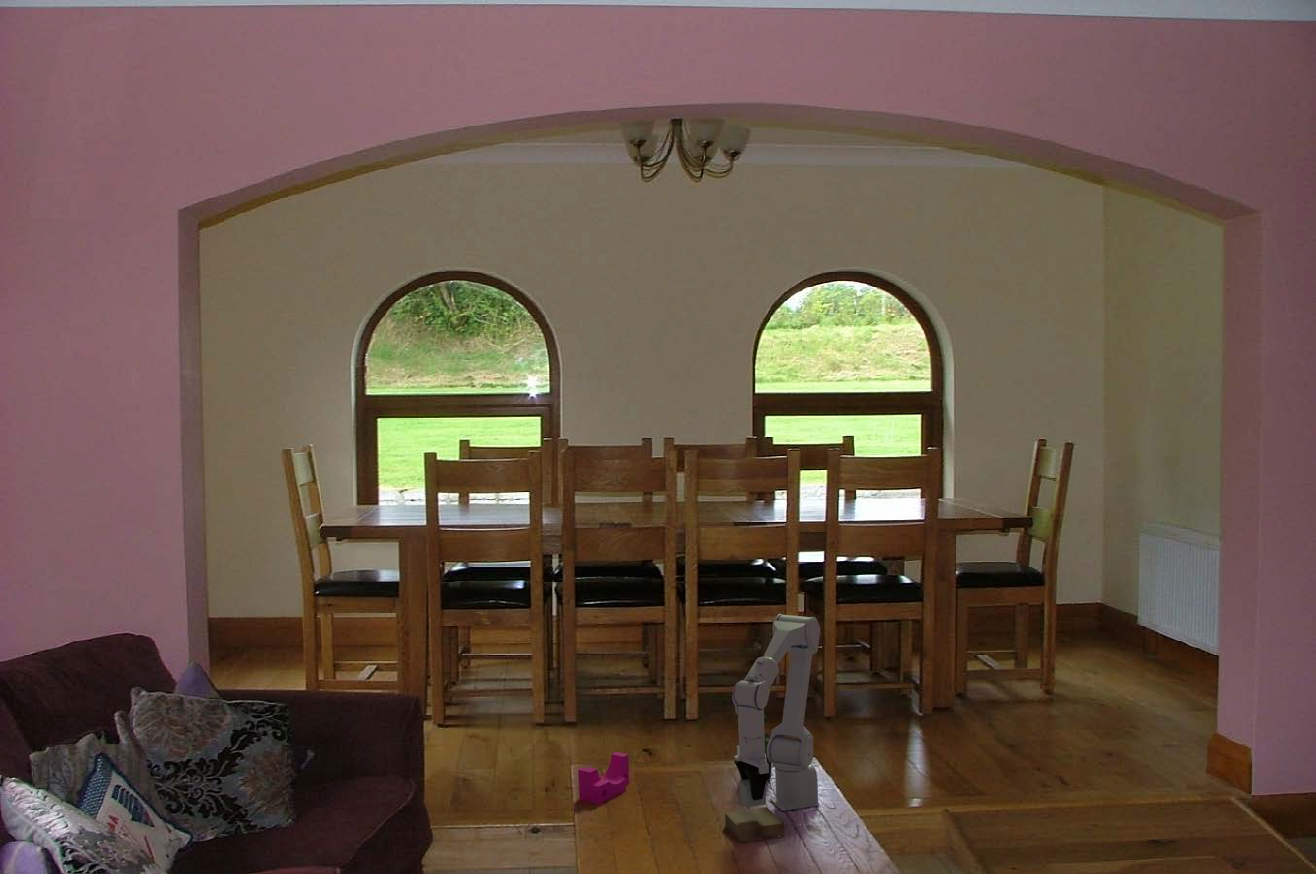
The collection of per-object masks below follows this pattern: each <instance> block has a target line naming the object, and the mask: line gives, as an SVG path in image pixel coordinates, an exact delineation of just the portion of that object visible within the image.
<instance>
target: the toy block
mask: <svg viewBox="0 0 1316 874" xmlns="http://www.w3.org/2000/svg"><path fill="white" fill-rule="evenodd" d="M629 761H630V758H629V754H628V753H623V752H619V751H616V752H614V753H611V758H610V762H609V765H608V768H607V770H606V771H605V773H604V774H603V775H602V776H601V777H600V774H599V771H598V768H594V767H589V766H584V767H581V768H579V769H577V773H578V799H579V800H582V801H585V802H589V803H593V804H597V805H602V804H603V803H604V802H607V801H609V800H611V799H612V798H615V797H616V796H618V795H620V794H623V793H624V792H626V791H627V785H628V784H630V764H629V763H630V762H629Z"/></svg>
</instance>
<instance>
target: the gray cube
mask: <svg viewBox="0 0 1316 874" xmlns="http://www.w3.org/2000/svg"><path fill="white" fill-rule="evenodd" d="M738 783H739V785H738V786H739V787H738V788H739V802H740V803H742V804H743V805H744V807H746V808H750V807H759V806H764V805H766V806H767V794H766V792H767V791H766V789H767V788H766V786H767V784H766V785H765V790H764V795H763V799H761V800H753V798H752V795H751V788H750V783H749V779H746V780H738Z"/></svg>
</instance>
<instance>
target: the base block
mask: <svg viewBox="0 0 1316 874" xmlns="http://www.w3.org/2000/svg"><path fill="white" fill-rule="evenodd" d="M724 815H725V816H724V818H725V819H724V820H725V821H724V822H725V827H726V828H727V830H728V831H729V832H730V833H731V834H732V835H733V836H734V837H735V838H736V840H738V841H739V843H740V844H743V843H749V842H758V841H761V840H762V841H763V840H769V838H770V839H775V838H774V837H776V838H779V837H778V836H783V837H784V836H785V823H784V822H783V820H781V819H780V818H779V817H778V816H777V815H776V814H775V813H774V812H773V811H772V810H770V809H769V807H767V806H764V807H758V808H757V807H756V808H752V809H744V810H739V811H731V812H725V813H724Z"/></svg>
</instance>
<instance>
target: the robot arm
mask: <svg viewBox="0 0 1316 874" xmlns="http://www.w3.org/2000/svg"><path fill="white" fill-rule="evenodd" d="M771 631H772V632H771V633H772V638H771V639H770V642H769V645H768V647H767V649H766V651H765V652H764V655H763V656H760V657H757V658H756V659H755V661H754V663H753V664H752V666H751V668H750V670H749V671H748V673H747V674H746V676H745V677H744V679H742V680H739V682H736V684H735V685H734V687H733V690H732V696H731V699H732V703H733V705H734V709H735V714H736V715H737V720H738V721H737V722H738V725H737V726H738V745H736V755H734V756H733V759H734V765H735V766H736V768H737V770H738V773H739V777H740V779H741V780H746V779H749V783H750V788H751V795H752V798H753V800H761V799H763V795H764V790H765V785H766V786H767V782H768V781H769V780H768V777H769V776H770V774H771V775H772V768H771V769H770V768H769V764H768V763H767V759H766V754H765V733H766V732H765V723H764V715H765V710H764V709H765V707H766V706H767V705H768V702H769V696H770V693H771V686H772V684H773V683H774V681H775V679H776V678H777V676H778V674H779V665H778V664H779V663H780V662H781V660H782V659H783V657H784V656H785V655H786V654H787V652H788V654H789V656H790V658H789V659H790V660H789V665H788V666H789V667H788V672H787V673H788V674H787V682H786V690H785V697H784V703H783V704H784V706H783V713H782V721H781V723H780V724H779V725H777V726H776V727H774V728H772V730H771V733H770V740H769V742H768V745H767V757H768V759H769V761H770V762H772V767H773V768H774V772H775V773H774V775H775V796H774V797H772V796H771V797H769V800H770V801H771V802H772V803H773V804H774V805H775V806H776V807H777V808H779V810H780V811H782V812H787V811H793V809H794V810H800V809H805V808H812V807H818V806H820V802H819V787H818V786H819V784H818V782H819V780H818V774H817V770H816V768H815V766H814V765H813V764H812V763H813V759H814V754H815V752H814V736H813V735H812V733H811V732H810V731H809V730H808V729H807V728H806V726H804V721H805V713H806V706H807V698H808V691H809V690H808V689H809V684H810V683H809V682H810V674H811V669H812V667H811V666H812V659H813V655H814V654H816V653H818V649H819V644H820V634H821V626H820V624H819V622H818V619H817V618H816V617H815V616H810V617H809V616H803V615H802V616H799V615H791V614H783V613H778V614H777V615H776V617H775V618H774V620H773V621H772V629H771ZM764 732H765V733H764ZM785 736H788V737H785ZM790 737H794V738H790ZM796 738H797V739H796ZM798 738H799V739H798ZM767 780H768V781H767Z"/></svg>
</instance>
